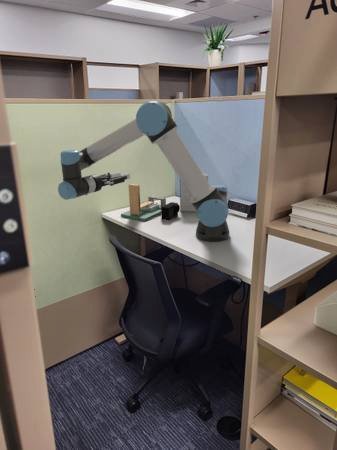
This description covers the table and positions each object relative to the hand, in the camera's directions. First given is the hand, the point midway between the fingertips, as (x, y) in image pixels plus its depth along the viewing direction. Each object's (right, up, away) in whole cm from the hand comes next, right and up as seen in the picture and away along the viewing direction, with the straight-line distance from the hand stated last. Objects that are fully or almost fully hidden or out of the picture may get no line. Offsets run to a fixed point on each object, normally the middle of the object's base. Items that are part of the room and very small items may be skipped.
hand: (124, 175), depth 171 cm
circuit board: (+10, -18, +21) cm, 29 cm away
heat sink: (+11, -16, +23) cm, 30 cm away
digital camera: (+23, -21, +13) cm, 33 cm away
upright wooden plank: (+8, -17, +18) cm, 26 cm away
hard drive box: (+36, -16, +25) cm, 47 cm away
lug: (+15, -14, +28) cm, 35 cm away
